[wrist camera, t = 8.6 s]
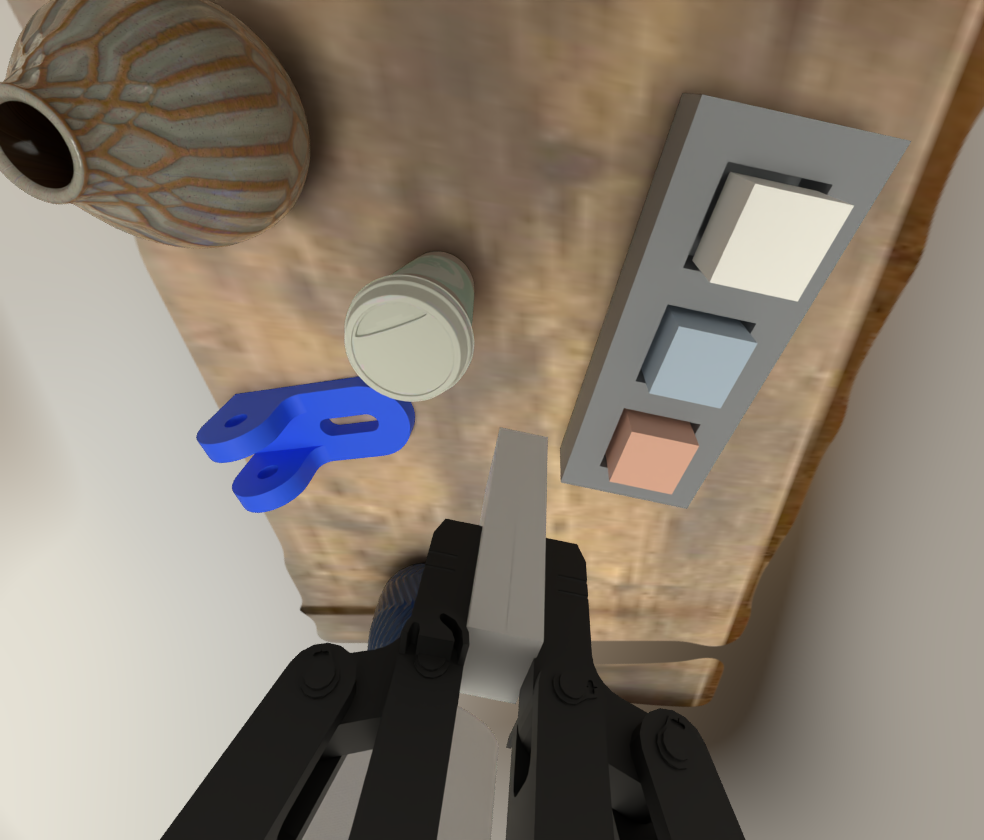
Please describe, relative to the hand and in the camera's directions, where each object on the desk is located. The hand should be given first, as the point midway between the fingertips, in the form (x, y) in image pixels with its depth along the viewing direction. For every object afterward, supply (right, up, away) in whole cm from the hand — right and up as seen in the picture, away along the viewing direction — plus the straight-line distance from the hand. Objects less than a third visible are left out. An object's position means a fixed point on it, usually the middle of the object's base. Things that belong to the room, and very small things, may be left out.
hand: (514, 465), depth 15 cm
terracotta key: (+13, 0, +27) cm, 30 cm away
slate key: (+14, +8, +22) cm, 27 cm away
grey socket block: (+15, +9, +24) cm, 30 cm away
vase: (-18, +23, +19) cm, 35 cm away
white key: (+16, +14, +15) cm, 26 cm away
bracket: (-17, +2, +34) cm, 38 cm away
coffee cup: (-5, +13, +24) cm, 28 cm away
